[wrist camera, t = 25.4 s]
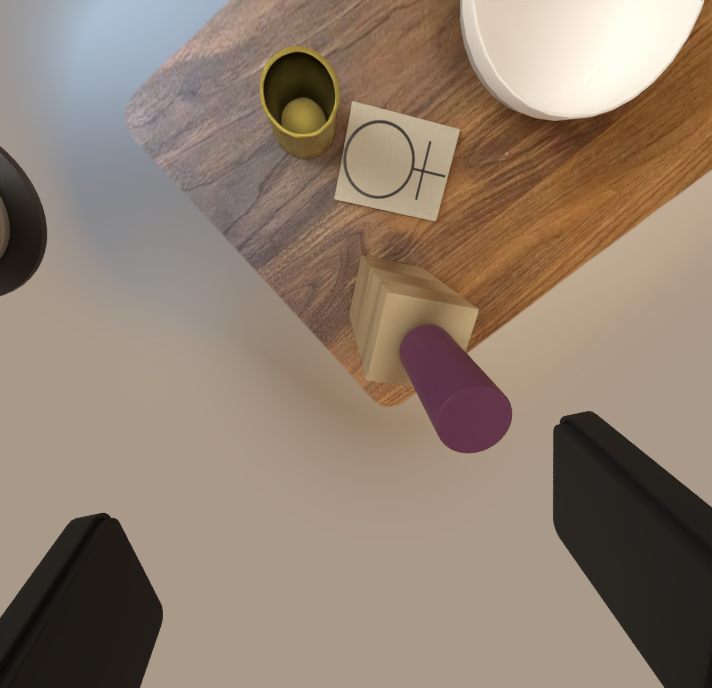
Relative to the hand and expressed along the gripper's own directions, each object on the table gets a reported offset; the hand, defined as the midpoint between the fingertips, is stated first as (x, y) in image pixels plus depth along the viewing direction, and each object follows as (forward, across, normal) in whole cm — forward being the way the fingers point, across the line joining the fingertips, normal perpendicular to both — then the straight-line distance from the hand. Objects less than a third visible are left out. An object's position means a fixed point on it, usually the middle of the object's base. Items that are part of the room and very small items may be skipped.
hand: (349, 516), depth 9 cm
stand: (+38, -6, +6) cm, 39 cm away
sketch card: (+38, -9, -7) cm, 40 cm away
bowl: (+38, -24, -17) cm, 49 cm away
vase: (+38, -1, -12) cm, 40 cm away
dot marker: (+21, -6, +6) cm, 23 cm away
